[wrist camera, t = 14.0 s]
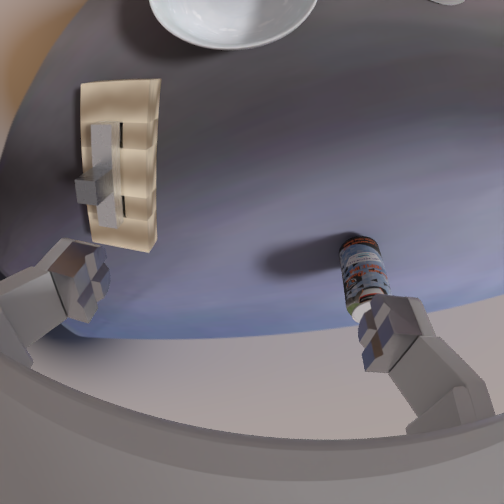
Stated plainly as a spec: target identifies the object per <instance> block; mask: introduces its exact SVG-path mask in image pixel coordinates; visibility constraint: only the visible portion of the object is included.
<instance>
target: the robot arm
mask: <svg viewBox="0 0 504 504" xmlns="http://www.w3.org/2000/svg"><path fill="white" fill-rule="evenodd" d="M431 1H434V2H436V3H440V4H445V5H456V4H460V3H462V2H464V1H465V0H431ZM106 258H107V255H106V251H105V248H104V247H102V246H100V245H96V244H91V243H87V242H83V241H78V240H73V239H69V238H62V239H60V240H59V241H58V243H57V244H56V245H55V246H54V247H53V248H52V249H51V250H50V251H49V252H48V253H47V254H46V255H45V256H44V257H43V258H42V260H41V261H40V262H39V263H38V264H37V265H36V266H35V267H32V266H31V267H29V268H27V269H25V270H22V271H20V272H18V273H16V274H14V275H12V276H10V277H8V278H6V279H4V280H2V281H0V504H504V413H502V414H499V415H495V412H494V409H493V406H492V402H491V399H490V396H489V393H488V390H487V387H486V384H485V382H484V381H483V380H482V379H481V378H480V377H479V376H478V375H477V374H476V372H475V371H474V370H473V369H472V368H471V367H470V366H469V365H468V364H467V363H466V362H465V361H464V360H462V358H461V357H460V356H459V355H458V354H456V352H455V351H454V350H453V349H452V348H451V347H450V346H448V345H447V344H446V342H445V341H444V340H442V339H441V338H440V337H436V335H435V332H434V330H433V327H432V325H431V323H430V320H429V318H428V316H427V313H426V311H425V309H424V306H423V304H422V302H421V300H419V299H418V298H413V297H401V296H393V295H386V294H379V293H377V294H376V295H375V296H373V298H372V300H371V302H370V305H371V309H370V310H368V311H367V312H365V313H364V314H363V316H362V318H361V320H360V324H359V328H358V337H359V342H360V343H361V344H362V345H363V347H364V348H365V349H364V351H363V353H362V358H363V363H364V369H365V372H380V373H381V372H382V373H389V376H390V377H391V379H392V380H393V382H394V383H395V385H396V386H397V387H398V389H399V390H400V391H401V393H402V395H403V396H404V397H405V399H406V400H407V402H408V403H409V405H410V406H411V408H412V409H413V411H414V412H415V413H416V415H417V416H418V418H417V419H415V420H414V421H413V422H411V423H410V424H409V425H408V426H407V427H406V432H407V435H400V436H391V437H381V438H367V439H350V440H349V439H348V440H309V439H307V440H306V439H288V438H274V437H263V436H254V435H245V434H238V433H231V432H224V431H218V430H212V429H206V428H202V427H196V426H191V425H187V424H182V423H178V422H174V421H170V420H166V419H162V418H158V417H154V416H151V415H147V414H143V413H140V412H136V411H133V410H130V409H127V408H124V407H121V406H118V405H115V404H112V403H109V402H106V401H103V400H101V399H98V398H95V397H93V396H90V395H88V394H85V393H83V392H80V391H78V390H75V389H73V388H71V387H68V386H66V385H64V384H62V383H59V382H57V381H55V380H53V379H51V378H49V377H46V376H44V375H42V374H40V373H38V372H36V371H34V370H32V369H31V366H32V364H33V359H32V358H31V356H30V354H29V353H28V352H27V350H26V348H27V347H29V346H30V345H31V344H33V343H34V342H35V341H37V340H38V339H39V338H41V337H42V336H44V335H45V334H46V333H48V332H49V331H50V330H52V329H53V328H55V327H56V326H57V325H59V324H60V323H61V322H63V321H64V320H66V319H67V317H69V318H72V319H75V320H79V321H82V322H86V323H89V322H90V321H91V319H92V317H93V316H94V314H95V312H96V311H97V309H98V305H97V302H98V301H99V300H101V299H103V298H104V297H105V295H106V294H107V292H108V289H109V286H110V271H109V268H108V267H107V266H106V264H105V263H104V262H105V260H106Z"/></svg>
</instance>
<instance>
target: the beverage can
mask: <svg viewBox="0 0 504 504" xmlns="http://www.w3.org/2000/svg"><path fill="white" fill-rule="evenodd" d="M339 258H340V264H341V271H342V278H343V285H344V292H345V300H346V308H347V311H348V312H349V314H350V315H351V316H352V318H353V319H354V320H355V321H356V322H358V323H360V320H361V318H362V316H363V314H364V313H365V312H367V311H368V310H370V309H371V305H370V302H371V300H372V298H373V296H375V295H376V294H377V293H379V294H386V295H392V294H391V290H390V286H389V282H388V278H387V274H386V271H385V267H384V264H383V260H382V257H381V253H380V250H379V247H378V244H377V243H376V242H375V241H374V240H373V239H371V238H369V237H364V236H360V237H355V238H352V239H350V240H348V241H346V242H345V243H344V244H343V245H342V247H341V248H340V251H339Z"/></svg>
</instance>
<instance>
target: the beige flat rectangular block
mask: <svg viewBox="0 0 504 504" xmlns="http://www.w3.org/2000/svg"><path fill="white" fill-rule="evenodd" d="M160 87H161V79H122V80H105V81H94V82H89V83H83V84H81V104H80V117H81V148H82V163H83V173H85V172H86V171H88V170H89V169H91V168H92V167H93V165H92V147H91V124H94V123H96V122H99V121H120V122H123V141H121V142H120V177H121V195H122V196H124V197H125V210H124V211H123V220H124V222H123V223H122V224H121V225H120V226H119V228H118V229H115V228H109V227H103V226H99V222H98V215H97V207H96V206H95V205H88V204H87V209H88V216H89V223H90V229H91V235H92V240H93V242H97V243H102V244H107V245H112V246H117V247H122V248H127V249H132V250H137V251H143V252H148V253H149V252H150V250H151V249H152V247H153V246H154V244H155V242H156V241H157V221H156V154H157V129H158V112H159V98H160Z"/></svg>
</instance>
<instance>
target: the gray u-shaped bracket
mask: <svg viewBox="0 0 504 504" xmlns="http://www.w3.org/2000/svg"><path fill="white" fill-rule="evenodd" d="M121 141H123V122H120V121H99V122H96V123H94V124H91V147H92V165H93V167H92V168H91V169H89V170H88V171H86V172H85V173H83V174H82V175H81V176H79V177H78V178H76V179H75V187H76V195H77V202H78V203H81V204H88V205H95V206H96V207H97V215H98V222H99V226H103V227H109V228H115V229H118V228H119V226H120V225H121V224H122V223H123V222H124V220H123V211H124V210H125V197H124V196H122V195H121V177H120V142H121Z"/></svg>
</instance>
